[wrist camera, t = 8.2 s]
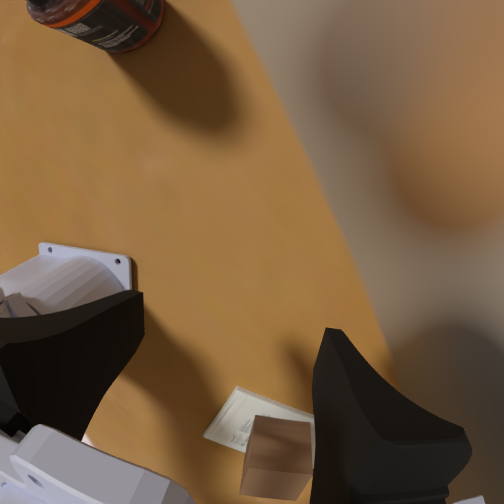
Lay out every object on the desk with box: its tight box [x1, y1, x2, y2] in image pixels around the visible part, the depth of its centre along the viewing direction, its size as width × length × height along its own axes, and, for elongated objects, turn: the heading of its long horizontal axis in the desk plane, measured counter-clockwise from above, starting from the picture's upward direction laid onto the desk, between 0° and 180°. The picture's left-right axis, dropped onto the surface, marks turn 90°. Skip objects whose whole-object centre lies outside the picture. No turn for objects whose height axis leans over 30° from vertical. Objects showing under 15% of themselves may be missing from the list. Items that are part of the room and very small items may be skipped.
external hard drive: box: [203, 386, 315, 469], centre depth 27 cm, size 2×8×12 cm
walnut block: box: [239, 415, 313, 501], centre depth 23 cm, size 5×5×6 cm
